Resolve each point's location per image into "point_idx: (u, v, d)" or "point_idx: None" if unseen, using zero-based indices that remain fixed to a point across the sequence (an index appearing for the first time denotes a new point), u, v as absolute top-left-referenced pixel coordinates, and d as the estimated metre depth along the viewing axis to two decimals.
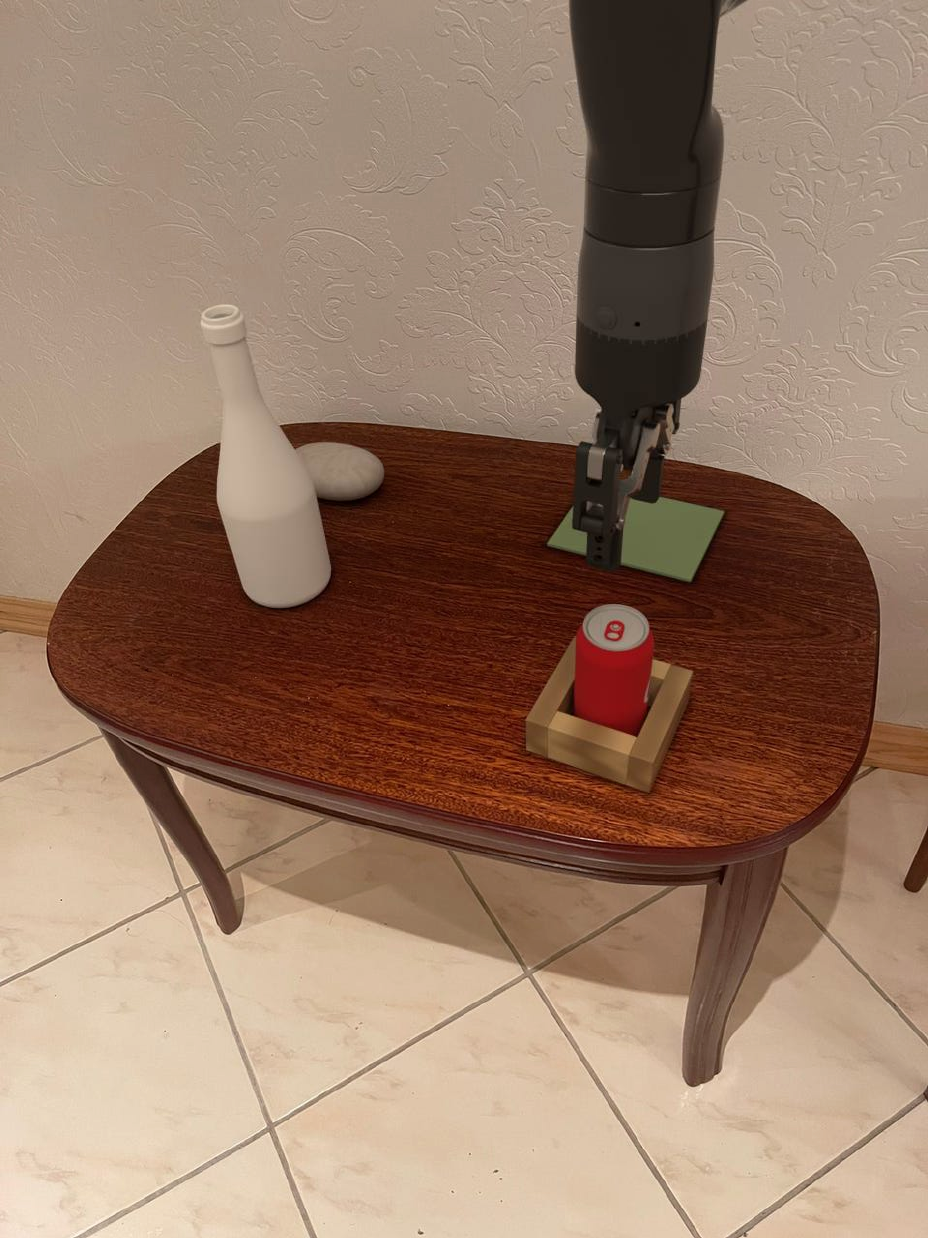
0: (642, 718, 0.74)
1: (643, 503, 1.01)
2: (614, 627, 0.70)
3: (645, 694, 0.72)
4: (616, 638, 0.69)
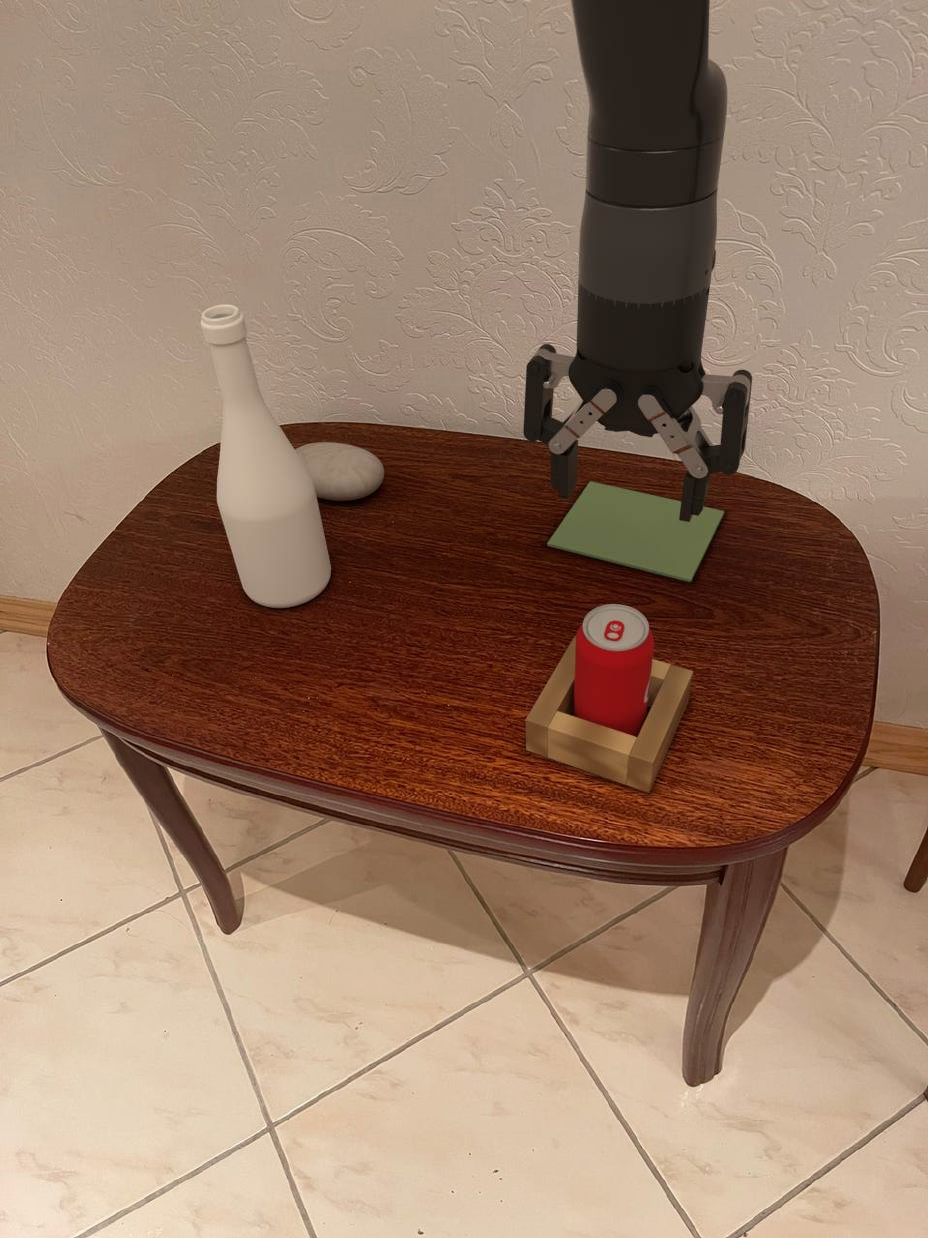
0: (642, 718, 0.74)
1: (643, 503, 1.01)
2: (614, 627, 0.70)
3: (645, 694, 0.72)
4: (616, 638, 0.69)
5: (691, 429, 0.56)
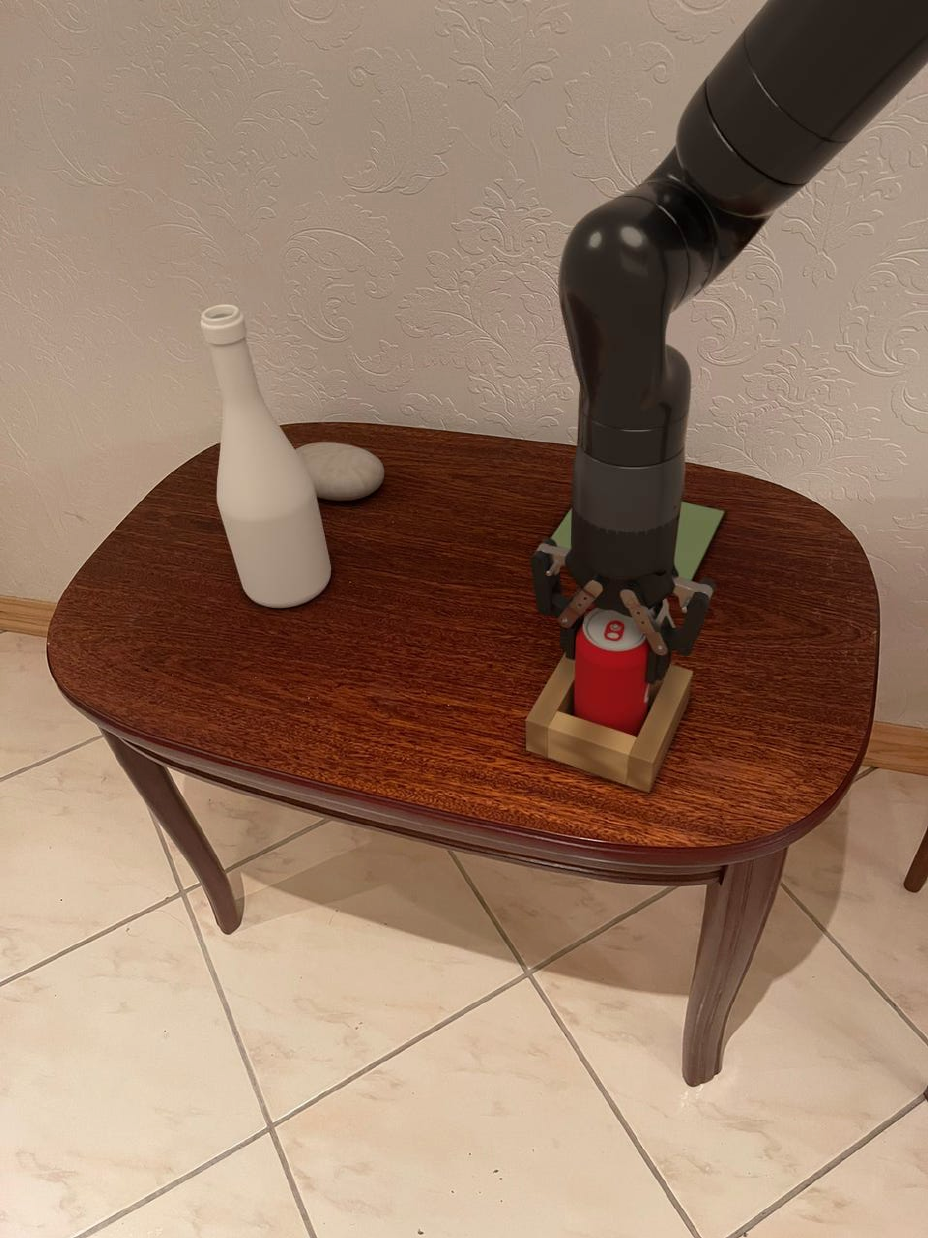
0: (642, 718, 0.74)
1: None
2: (614, 627, 0.70)
3: (645, 694, 0.72)
4: (616, 638, 0.69)
5: (659, 616, 0.67)
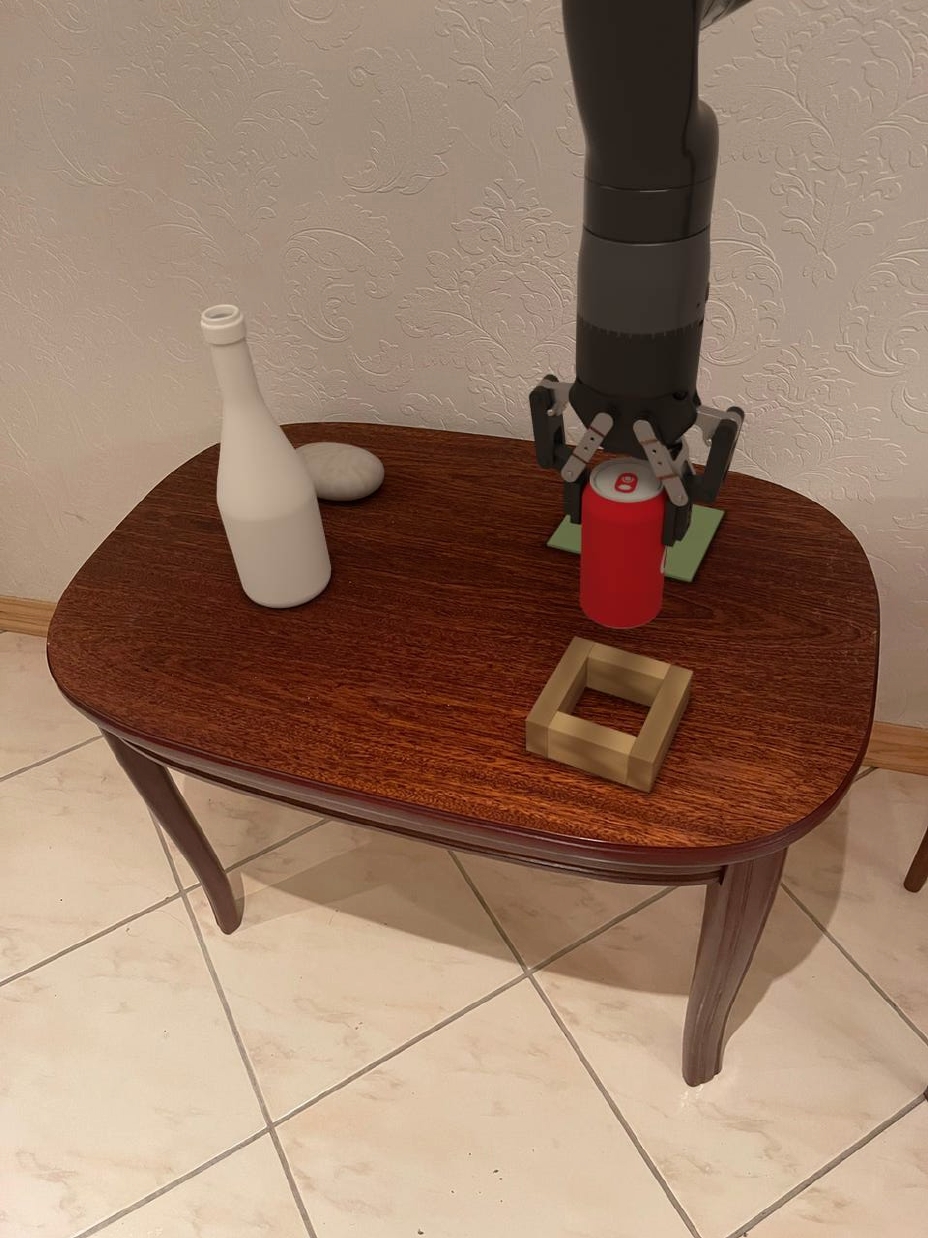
0: (658, 593, 0.65)
1: None
2: (626, 478, 0.61)
3: (662, 562, 0.63)
4: (628, 489, 0.60)
5: (679, 458, 0.58)
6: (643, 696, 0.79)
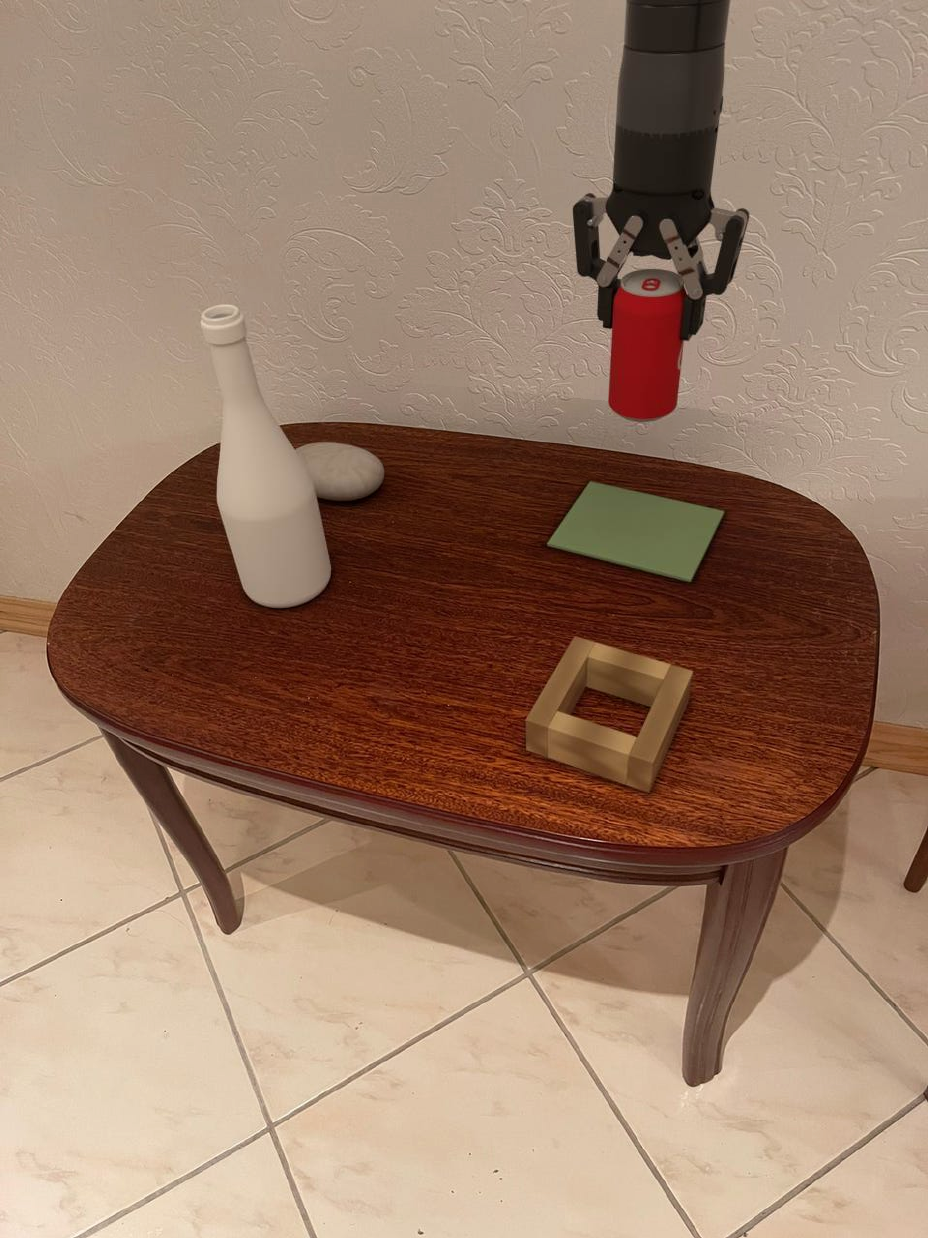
0: (675, 388, 0.78)
1: (643, 503, 1.01)
2: (650, 281, 0.74)
3: (678, 357, 0.76)
4: (653, 287, 0.73)
5: (695, 257, 0.71)
6: (643, 696, 0.79)
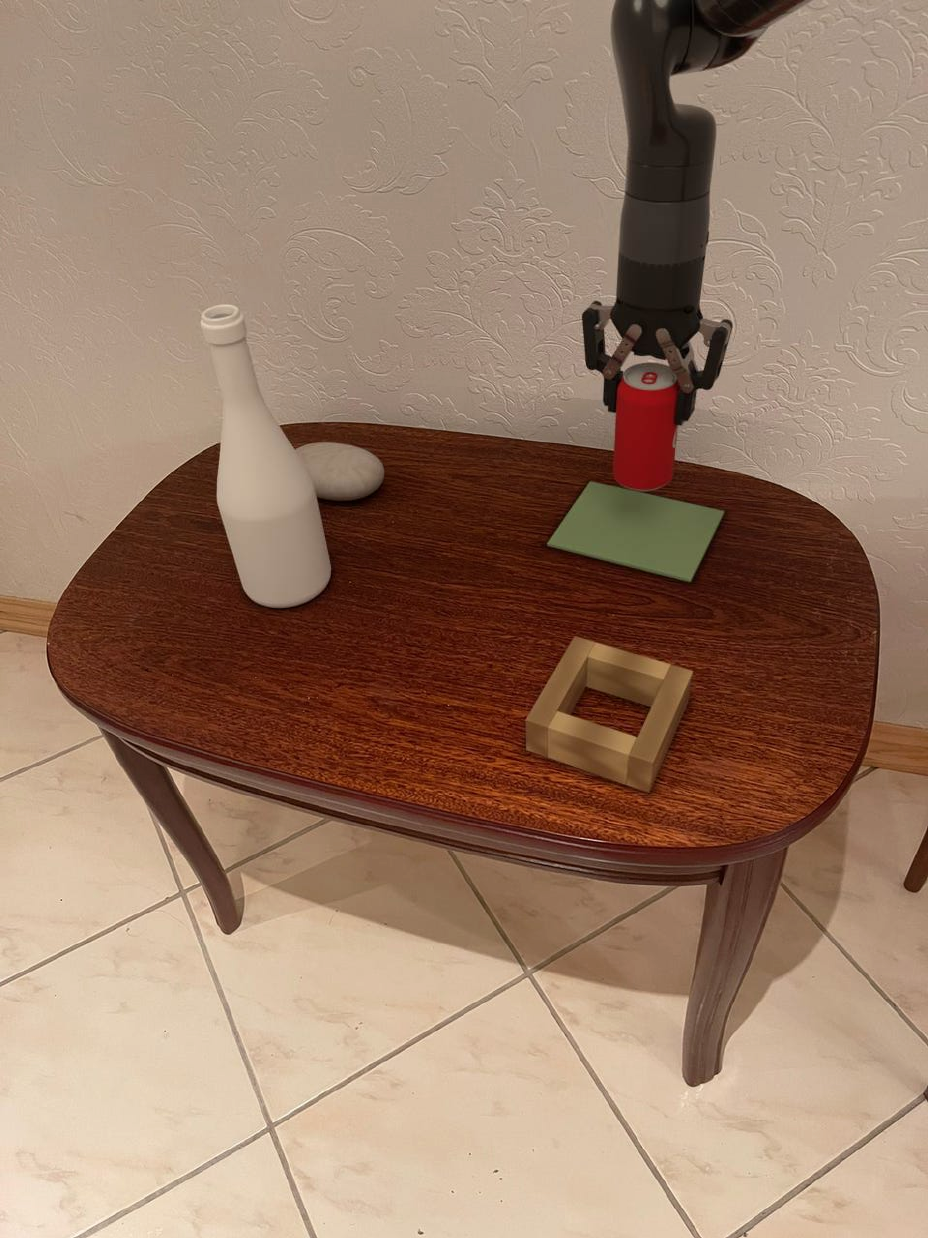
0: (670, 463, 0.90)
1: (643, 503, 1.01)
2: (649, 375, 0.86)
3: (673, 438, 0.88)
4: (651, 382, 0.85)
5: (687, 358, 0.83)
6: (643, 696, 0.79)
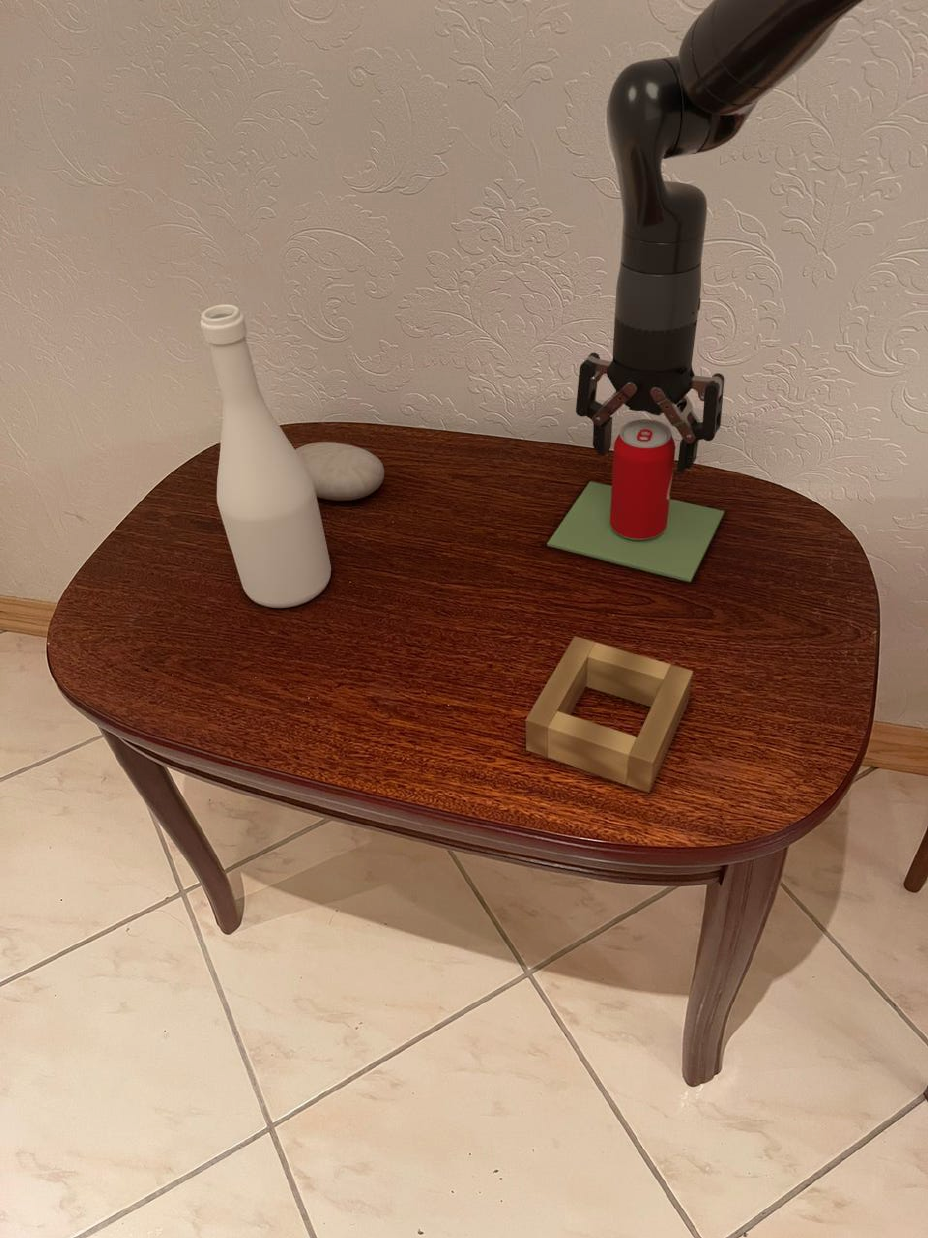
0: (665, 514, 0.94)
1: None
2: (644, 433, 0.90)
3: (667, 491, 0.93)
4: (646, 439, 0.89)
5: (685, 411, 0.86)
6: (643, 696, 0.79)
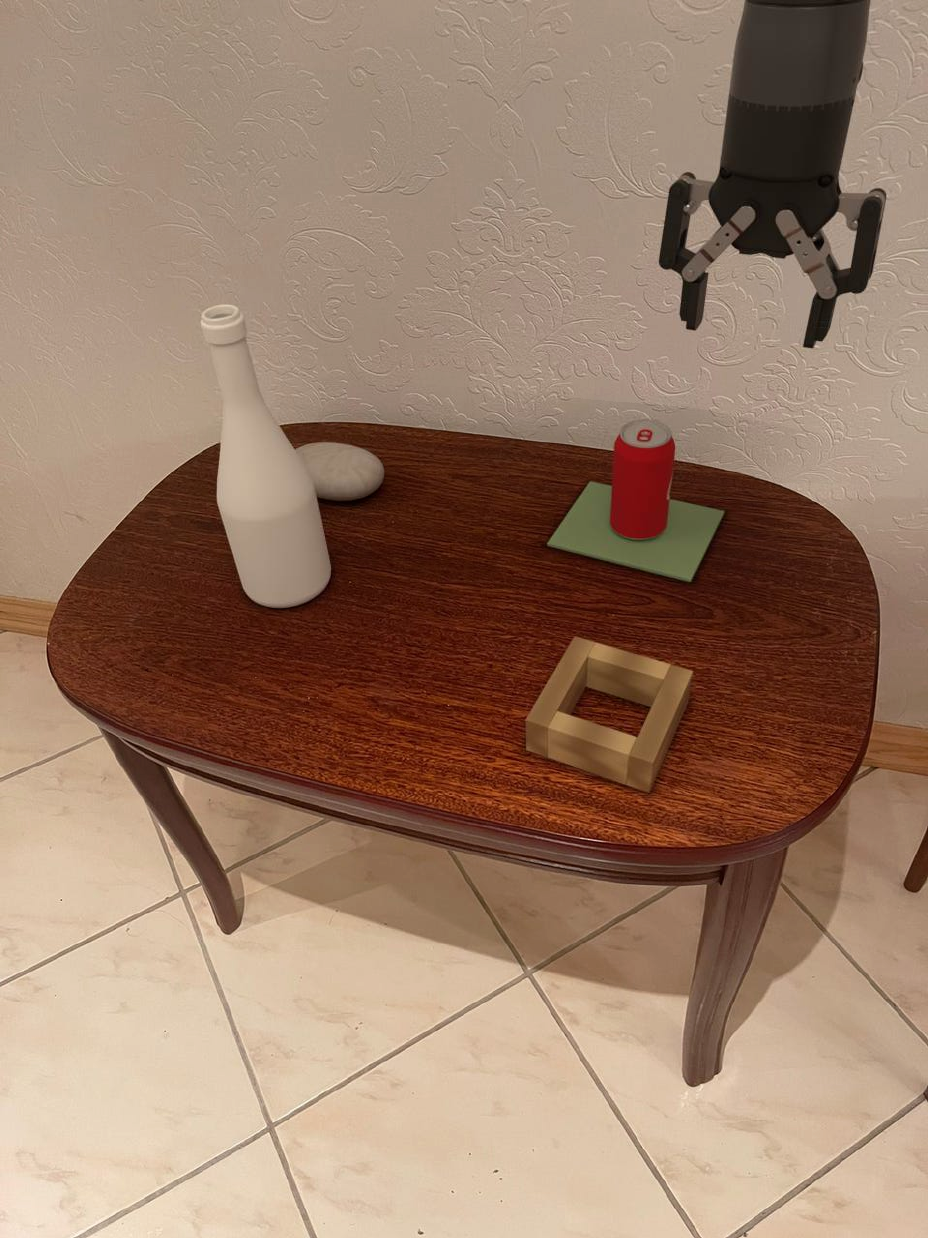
0: (665, 514, 0.94)
1: None
2: (644, 433, 0.90)
3: (667, 491, 0.93)
4: (646, 439, 0.89)
5: (823, 250, 0.60)
6: (643, 696, 0.79)
